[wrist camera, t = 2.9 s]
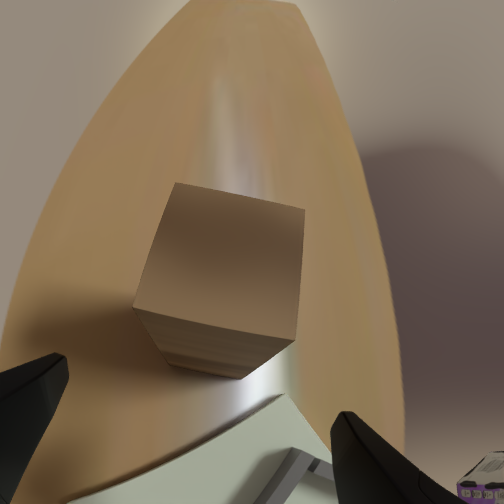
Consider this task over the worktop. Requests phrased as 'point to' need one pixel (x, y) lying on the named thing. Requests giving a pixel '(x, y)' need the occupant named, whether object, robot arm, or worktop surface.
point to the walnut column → (222, 281)
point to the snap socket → (292, 476)
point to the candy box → (484, 481)
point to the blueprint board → (231, 465)
